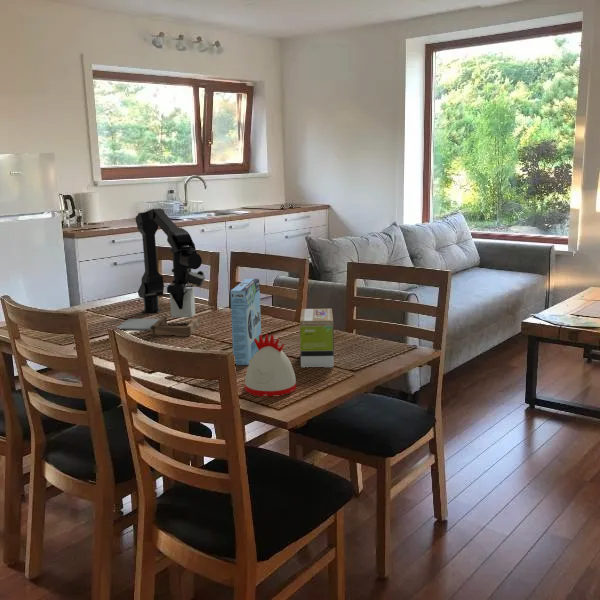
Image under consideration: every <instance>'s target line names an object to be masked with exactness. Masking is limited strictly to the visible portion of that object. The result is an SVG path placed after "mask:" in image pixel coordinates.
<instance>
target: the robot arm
mask: <svg viewBox="0 0 600 600" xmlns="http://www.w3.org/2000/svg"><path fill="white" fill-rule="evenodd" d="M135 223H136V226H137V227H136V228H137V230H138V231H139V233H140V234H141V236H142V248H143V251H142V252H143V263H144V264H143V265H144V272H143V275H142V277H141V284H140V286H139V289H138V290H137V294H138V297H140V298H141V299H143V307H144V308H143V309H142V310H141V313H147V314H149V313H151V314H153V313H158V312H160V311H161V310H162V309H163V308H162V307H160V306H159V305H160V303H159V296H161V297H162V296H163V295H164V289H165V284H164V276H163V275H162V274H161V273H159V271H158V259H157V258H158V257H157V246H156V233H157V231H158V229H159V228H160V229H161V230H162V232H163V233H164V234H165V235H166V236H167V238H166V239H167V240H166V242H167V243H168V244H169V246H170V248H171V249H170V250H169V252H170V253H171V254H172V269H171V273H173V280H171V281H172V283H170V284H169V285H168V286H167V287H166V293H167V294H169V295H170V294H171V295H172V297H173V298H174V300H175V302H176V304H177V306H178V307H179V309H182V307H183V299H184V295H185V293H186V292H187V291H186V287H195V286H197V287H202V286H203V285H204V282H205V279H206V276H205V274H204V271H202V270H199V271H198V272H194V271H192V270H197V269H199V268H200V267H201V266H202V264H203V263H202V262H203V260H202V257H201V256H200V254H198V252H197V249H196V244H195V243H194V241H193V239H192V236H191V234H190V233H189V231H188V230H186V229H184V228H182V227H179V226H177V225H176V223H174V221H173V220H172V219H171V218H170V217H169V216H168V215H167V214H166V212H165V210H164V209H163V208H160V207H159V208H151V209H149V210H147V211H144V212H138V214H137V215H136V216H135ZM191 284H192V285H191ZM194 285H195V286H194Z"/></svg>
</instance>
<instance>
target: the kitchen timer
mask: <svg viewBox="0 0 600 600" xmlns="http://www.w3.org/2000/svg"><path fill="white" fill-rule="evenodd" d="M254 341H255V343H256V345H257V347H258V349H259V351H257V352H256V354H255V355H254V356H253V358H252V359H251V360H250V361H249V362H250V363H249V364H248V365H247V366H248V367H247V369H246V370H247V371H246V373H245V378H244V390H245V392H246V391H247V392H246V393H248V392H249V393H251V394H250V395H252V394H253V396H255V395H259V396H258V397H261V396H273V395H282V394H286V393H290V392H292V391H293V392H295V391H296V390H297V379H296V374H295V371H294V368H293V365H292V362H291V360H290V359H289V357H288V356H287V355H286V353H285V352H283V348H284V346H285V343H282V345H280V347H279V341H280V339H279V338H278V339H276V340H275V338H274V334H271V335H270V338H269V334H268V333H267V334H266V335H265V338H264V339H263V335H262V333H261V334H260V335H259V342H258V341H257V339H256V338H255V339H254ZM293 392H292V393H293ZM249 393H248V394H249ZM290 394H291V393H290Z"/></svg>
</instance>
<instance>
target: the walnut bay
mask: <svg viewBox="0 0 600 600" xmlns="http://www.w3.org/2000/svg"><path fill="white" fill-rule="evenodd" d="M167 318H168V317H167V316H162V317H160V318H159V319H160V320H158V321H157V322H156V323H155V324H154V325H152V326H151V330H150V335H151V336H162V335H176V336H175V337H180V336H181V337H190V336H192V335H193V334H194V332H196V331H197V329H198V328H199V327H200V326H201V318H200V317H194V319H192V320H191V321H190V323H188V325H187V326H186V325H185V326H184V325H183V326H178V325H177V326H176V325H175V326H174V325H173V326H172V325H168V319H167ZM191 334H192V335H191Z"/></svg>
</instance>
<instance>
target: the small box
mask: <svg viewBox="0 0 600 600" xmlns="http://www.w3.org/2000/svg"><path fill="white" fill-rule="evenodd" d="M194 287H195V286H194ZM194 287H186V291H187V292H186V293H185V295H184V299H183V307H182V309H179V307H178V306H177V304H176V302H175V300H174V298H173V297H172V295H171V294H170V293H169V305H170V317H171V318H184V319H185V318H193V317H194V316H195V315H196V303H195V301H196V300H195V288H194Z"/></svg>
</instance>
